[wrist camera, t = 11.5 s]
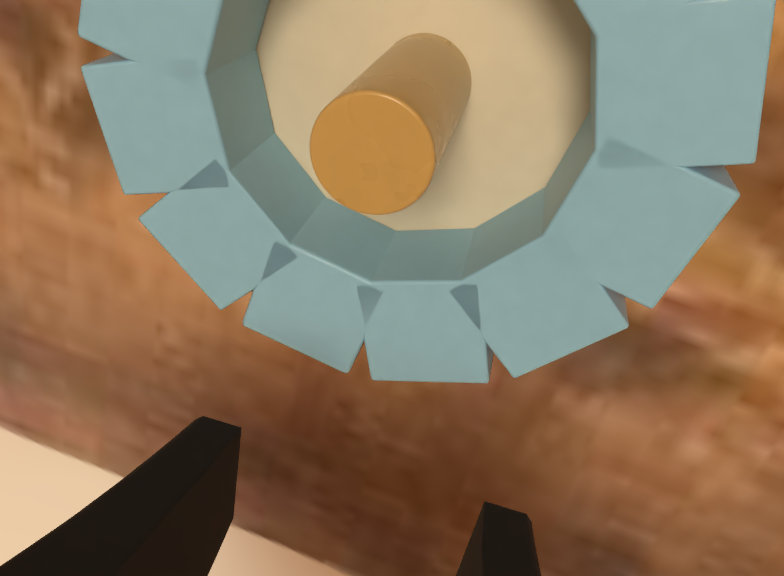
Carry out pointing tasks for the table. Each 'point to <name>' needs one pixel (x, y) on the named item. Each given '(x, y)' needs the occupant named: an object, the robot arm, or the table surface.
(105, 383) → the table surface
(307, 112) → the peg stand
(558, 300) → the ring
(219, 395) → the table surface
